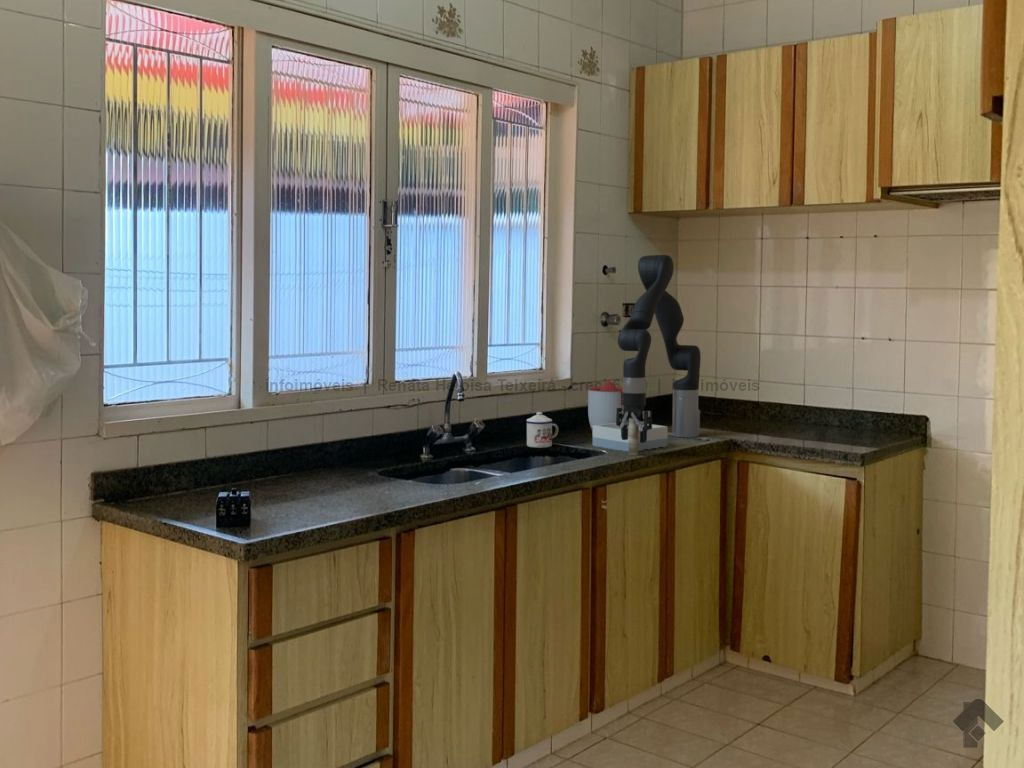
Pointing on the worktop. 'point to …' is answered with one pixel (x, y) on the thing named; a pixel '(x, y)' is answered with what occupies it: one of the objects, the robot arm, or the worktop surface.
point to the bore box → (612, 437)
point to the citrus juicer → (604, 404)
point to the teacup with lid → (540, 431)
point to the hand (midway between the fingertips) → (633, 441)
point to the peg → (633, 438)
